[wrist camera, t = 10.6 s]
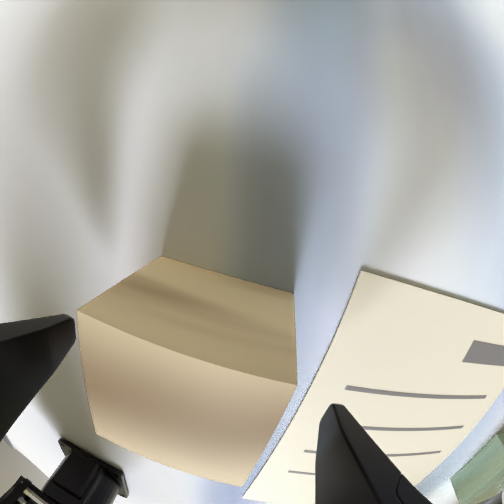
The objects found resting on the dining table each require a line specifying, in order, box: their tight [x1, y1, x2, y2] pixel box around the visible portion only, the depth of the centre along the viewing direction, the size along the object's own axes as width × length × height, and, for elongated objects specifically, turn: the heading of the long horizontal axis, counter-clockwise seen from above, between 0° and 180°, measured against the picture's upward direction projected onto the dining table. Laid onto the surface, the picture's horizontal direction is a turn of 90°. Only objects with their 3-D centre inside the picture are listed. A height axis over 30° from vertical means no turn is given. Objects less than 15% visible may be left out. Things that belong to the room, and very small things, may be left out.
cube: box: [77, 256, 297, 487], centre depth 8 cm, size 5×5×5 cm
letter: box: [242, 270, 504, 504], centre depth 11 cm, size 18×13×1 cm
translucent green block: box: [450, 432, 504, 504], centre depth 10 cm, size 6×6×4 cm
